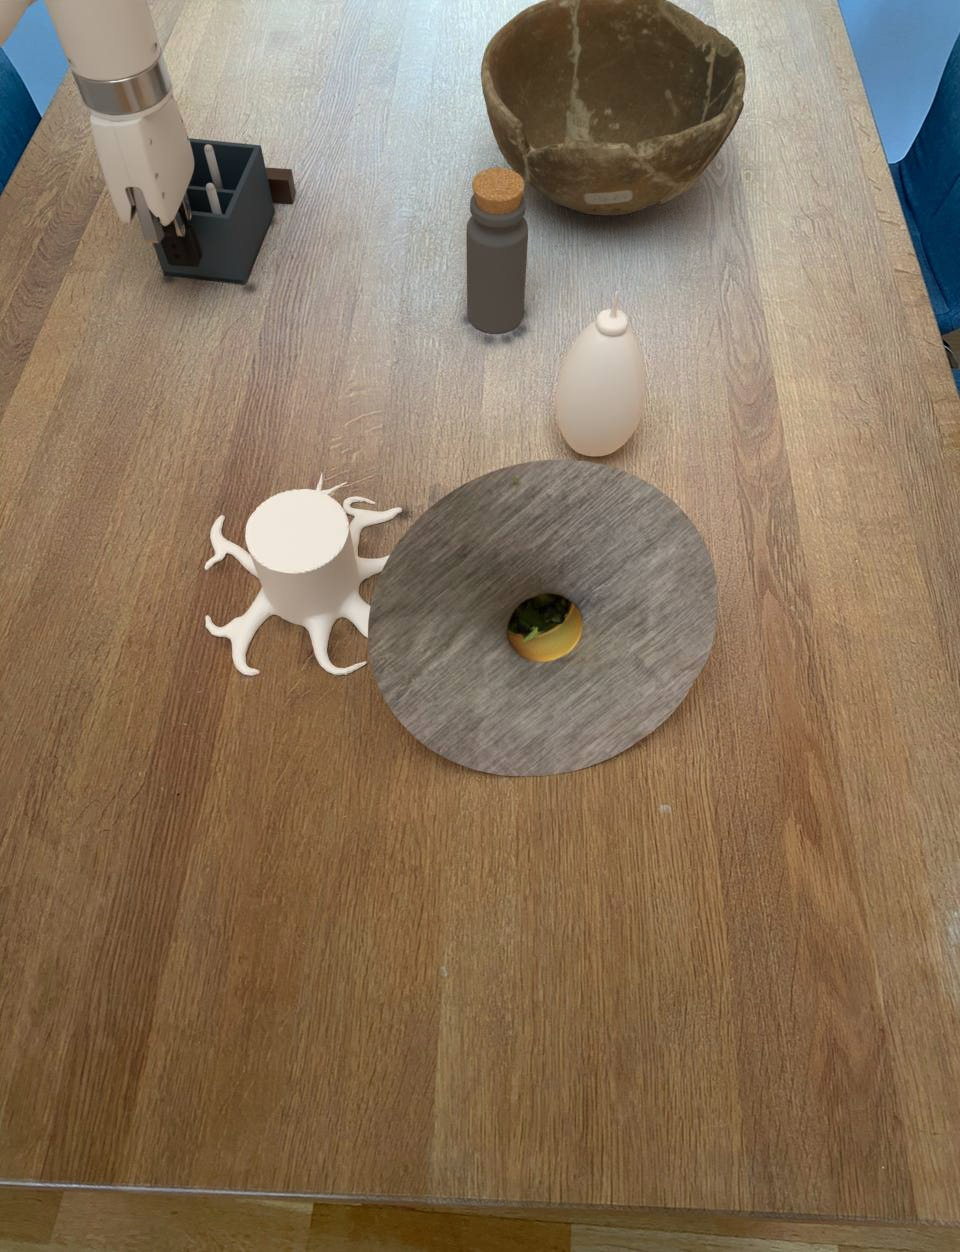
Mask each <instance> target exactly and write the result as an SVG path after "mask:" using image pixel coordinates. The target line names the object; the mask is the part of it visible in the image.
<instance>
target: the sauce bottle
mask: <svg viewBox="0 0 960 1252" xmlns="http://www.w3.org/2000/svg"><path fill="white" fill-rule="evenodd" d="M618 306H619V291H617V290H616V291H615V293H614V295H613V299H612V303H611V308H606V309H603V310H601V311H599V312H598V314H597V316H596V317H595V320H593V321H592V322H590V324H588V325H587V326H585V328H584V329H583V330H582V331H581V332H580V333H579V334H578V336H577V337H576V339H575V340H574V341H573V343H572V344H571V346H570V348H569V349H568V351H567V354H566V356H565V358H564V360H563V362H562V365H561V367H560V370H559V374H558V377H557V383H556V387H555V394H554V395H555V396H554V397H555V398H554V405H555V408H554V409H555V418H556V420H557V421H556V422H557V425H558V428H559V431H560V433H561V435H562V437H563V439H564V440H565V442H566V443H567V444H568V446H569V447H570V448H571V449H572V450H573V451H574V452H576V453H578V454H580V455H582V456H587V457H604V456H607V455H610V454H612V453H614V452H616V451H618V450H619V449H620V448H621V447H623V446H624V445H625V444H626V443H627V442H628V441H629V440H630V438H631V437H632V435H634V432H635V431H636V429H637V427H638V425H639V423H640V421H641V418H642V415H643V411H644V407H645V400H646V395H647V394H646V393H647V378H646V377H647V375H646V366H645V361H644V356H643V352H642V349H641V346H640V343H639V341H638V338H637V336H636V334H635V332H634V331H633V329H632V328H631V326H630V325H629V318H628V316H627V314H626V313H625V312H624V311H622V310H620V309H618Z"/></svg>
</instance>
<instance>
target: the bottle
mask: <svg viewBox="0 0 960 1252" xmlns="http://www.w3.org/2000/svg"><path fill="white" fill-rule="evenodd" d="M471 186H472V191H473V194H472V195H471V197H470V202H469V212H470V214H471V216H470V217H469V218H468V220H467V222H466V307H467V308H466V309H467V310H466V312H467V319H468V321H469V323H470V324H471V325H472V326H473V327H474V328H476V329H477V330H479V331H481V332H484V333H488V334H496V335H497V334H504V333H508V332H510V331H512V330H515V328H517V327H518V326H519V325H520V324H521V322H522V320H523V317H524V313H525V311H524V309H525V297H526V279H527V277H526V276H527V263H528V262H527V261H528V258H527V257H528V244H529V243H528V240H529V226H528V221H527V220H526V218H525V217H524V216H525V213H526V209H527V207H526V205H527V203H526V202H527V201H526V198H525V196H524V190H525V186H526V185H525V180H524V179H523V178H522V177H521V176H520V175H519V174H518V173H516V172H515V171H514V170H513V169H509V168H505V167H491V168H490V167H489V168H487V169H484V170H482V171H480V172H479V173H477V174H476V175H475V176H474V178H473V179H472V185H471Z"/></svg>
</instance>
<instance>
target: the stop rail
mask: <svg viewBox="0 0 960 1252" xmlns="http://www.w3.org/2000/svg"><path fill="white" fill-rule="evenodd" d="M266 172H267V177H268V182H269V187H270V191H271V196H272V201H273V204H274V203H275V204H288V205H289V204H290V205H292V204H294V201H295V199H296V194H297V191H296V186H295V185H296V184H295V179H294V175H293V170H292V168H280V167H266Z"/></svg>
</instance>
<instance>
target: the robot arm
mask: <svg viewBox="0 0 960 1252" xmlns="http://www.w3.org/2000/svg"><path fill="white" fill-rule="evenodd" d="M37 1H39V0H0V48H2V47H3V46H4V44H6V42H7V41H8V39H9V38H10V36H11V35H12V34H13V32H14V31H15V29H16V28H17V26H18V24H19V23H20V21H21V19H22V18H23V16H24V14H25V12H26V11H27V10H28V8H29V7H30V6H33V4H35V3H36V2H37ZM43 2H44V5H45V7H46V10H47V12H48V16H49V18H50V20H51V22H52V26H53V28H54V31H55V33H56V36H57V38H58V41H59V43H60V47H61V48H62V51H63V53H64V56H65V58H66V61H67V64H68V66H69V69H70V71H71V73H72V77H73V79H74V81H75V84H76V87H77V89H78V91H79V94H80V96H81V99H82V102H83V105H84V107H85V109H86V110H87V112H89V113H90V114H89V125H90V130H91V134H92V135H91V136H92V138H93V143H94V147H95V151H96V154H97V158H98V162H99V166H100V168H101V172H102V175H103V177H104V181H105V183H106V187H107V189H108V193H109V195H110V198H111V201H112V204H113V206H114V209H115V211H116V214H117V217H118V219H119V220H120V222H121V223H122V224H123V225H131V224H132V222H133V220H134V218H135V216H136V213H137V216H138V217H137V218H138V220H139V225H140V228H141V233H142V236H143V240H144V242H145V243H146V244H147V243H148V244H153V243H160V242H161V245H162V248H163V251H164V253H165V256H166V259H167V261H168V263H169V264H170V265H172V266H189V267H198V266H199V264H200V259H201V258H202V256H203V253H202V250H201V247H200V244H199V240H198V237H197V234H196V231H195V228H194V225H193V222H188V221H190V220H191V218H192V212H191V208H190V204H189V200H188V196H187V188H188V185H189V182H190V180H191V177H192V174H193V171H194V157H193V152H192V148H191V144H190V141H189V138H190V137H189V134H188V132H187V129H186V125H185V122H184V120H183V116H182V114H181V111H180V108H179V106H178V104H177V101H176V98H175V95H174V86H173V83H172V80H171V77H170V76H171V75H170V74H169V73H170V72H169V71H168V70H169V69H168V66H167V63H166V60H165V56H164V53H163V50H162V47H161V43H160V40H159V37H158V34H157V30H156V27H155V23H154V20H153V17H152V13H151V11H150V8H149V3H148V1H147V0H43Z"/></svg>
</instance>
